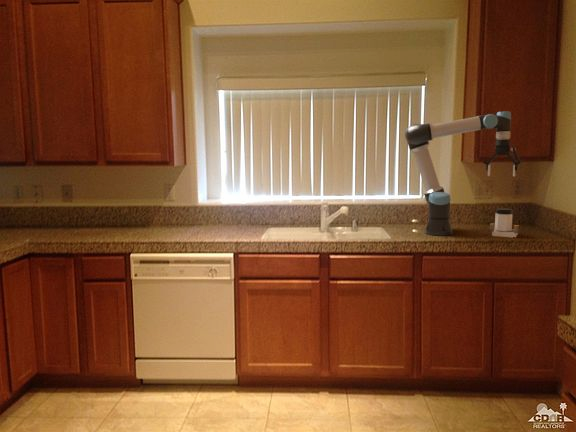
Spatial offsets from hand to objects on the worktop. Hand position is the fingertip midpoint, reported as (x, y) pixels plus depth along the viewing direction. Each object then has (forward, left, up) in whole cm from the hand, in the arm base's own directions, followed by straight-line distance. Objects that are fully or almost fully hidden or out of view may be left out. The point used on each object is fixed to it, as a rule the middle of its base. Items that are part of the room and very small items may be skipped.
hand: (501, 176), depth 292 cm
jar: (+4, -12, -30) cm, 32 cm away
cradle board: (+5, -11, -32) cm, 34 cm away
